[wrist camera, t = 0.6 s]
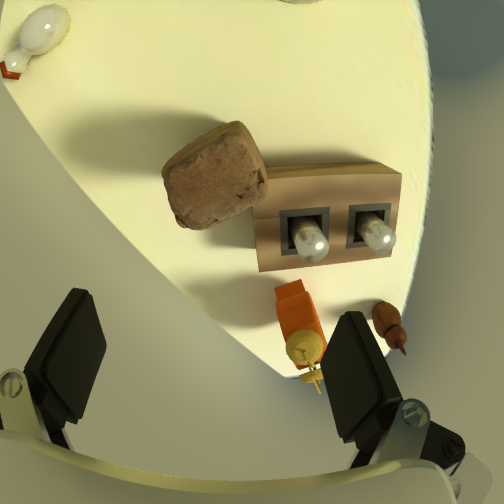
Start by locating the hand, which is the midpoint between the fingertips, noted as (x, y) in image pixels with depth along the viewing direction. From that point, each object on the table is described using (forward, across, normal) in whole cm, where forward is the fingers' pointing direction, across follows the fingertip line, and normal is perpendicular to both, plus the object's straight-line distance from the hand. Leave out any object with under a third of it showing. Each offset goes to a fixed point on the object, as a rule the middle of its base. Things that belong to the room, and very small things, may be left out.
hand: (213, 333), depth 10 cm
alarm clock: (+35, -16, +26) cm, 46 cm away
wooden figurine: (+35, -36, +28) cm, 57 cm away
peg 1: (+29, -11, +8) cm, 32 cm away
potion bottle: (+34, +35, -22) cm, 54 cm away
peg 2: (+29, -21, +5) cm, 36 cm away
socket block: (+34, -15, +6) cm, 38 cm away
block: (+34, +2, -1) cm, 34 cm away
